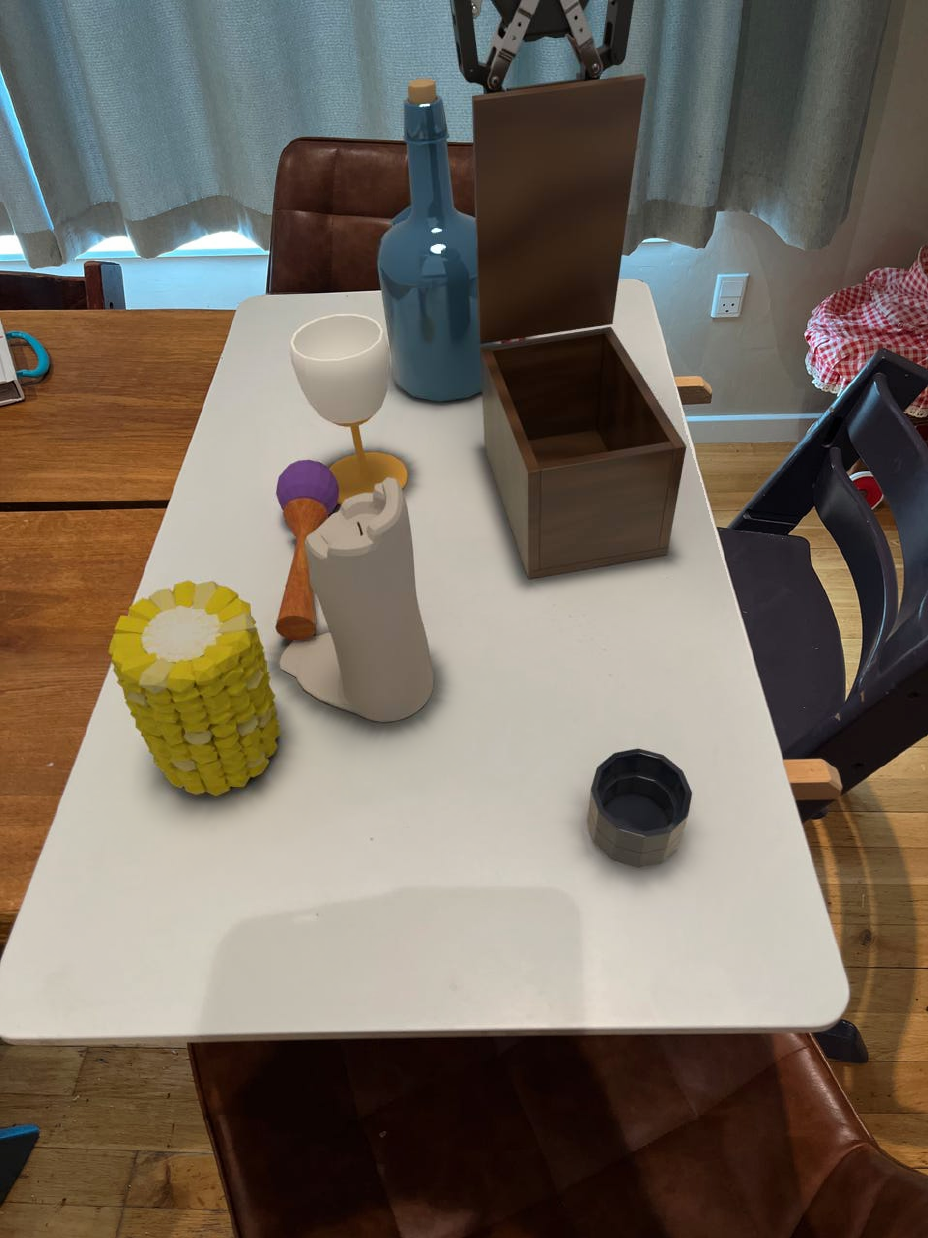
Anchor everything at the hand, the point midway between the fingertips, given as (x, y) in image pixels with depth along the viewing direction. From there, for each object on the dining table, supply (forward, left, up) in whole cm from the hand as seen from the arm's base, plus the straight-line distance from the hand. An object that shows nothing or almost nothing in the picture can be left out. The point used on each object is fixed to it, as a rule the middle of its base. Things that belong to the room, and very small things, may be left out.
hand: (541, 133), depth 64 cm
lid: (0, +4, -6) cm, 7 cm away
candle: (+23, +30, -29) cm, 47 cm away
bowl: (+5, +47, -29) cm, 56 cm away
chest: (0, +12, -29) cm, 31 cm away
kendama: (+26, +16, -29) cm, 42 cm away
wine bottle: (+8, -14, -29) cm, 33 cm away
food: (+33, +34, -29) cm, 56 cm away
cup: (+20, +4, -29) cm, 35 cm away
